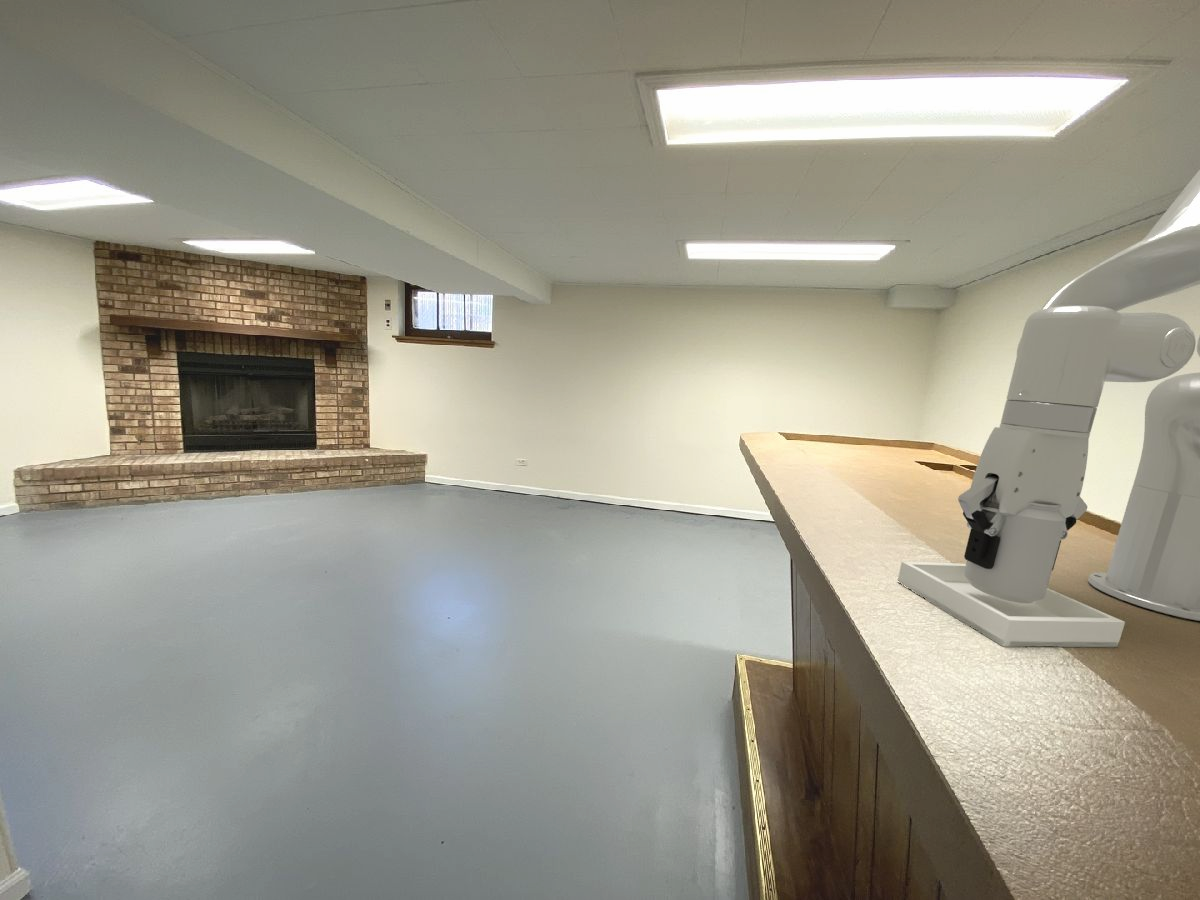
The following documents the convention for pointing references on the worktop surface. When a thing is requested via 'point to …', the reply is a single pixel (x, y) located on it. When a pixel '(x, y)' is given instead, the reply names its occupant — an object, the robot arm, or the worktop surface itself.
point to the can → (1021, 555)
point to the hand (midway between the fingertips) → (1007, 564)
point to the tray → (1011, 611)
